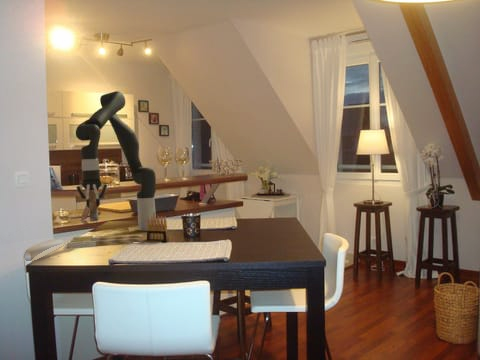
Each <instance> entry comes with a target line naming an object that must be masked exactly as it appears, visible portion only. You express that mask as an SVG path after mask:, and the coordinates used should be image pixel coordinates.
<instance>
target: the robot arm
mask: <svg viewBox="0 0 480 360" xmlns="http://www.w3.org/2000/svg"><path fill="white" fill-rule="evenodd" d="M99 101H100V106H101V108H99V109H97V110H96V111H95V112H94V113H93V114H91V116H90V117H89V118H88V119H86V120H84V121H83V122H82V123H79V125H77V127H76V130H75V136H76V138H77V139H78V140H80V141H89V143H88V144H87V145H85V146H82V147H81V151H80V153H81V174H82V182H81V184H80V185H77V186H76V190H77V192H78V193H79V195H80V197H81V199H85V200H86V207H87V208H89V209H90V207H89V190H94V192H95V194H96V205H97V208H99V207H100V206H101V202H100V201H101V198H103V197H104V195H105V193H106V190H107V188H108V184H105V183H102V180H101V173H100V162H99V151H98V150H99V145H100V139H101V130H102V129H103V128H104V127H105V125H106V124H107V123H108V121H109V123H110V125H111V127H112V129H113V132H114V134H115V136H116V138H117V141H118V143H119V146H120V148H121V150H122V152H123V154H124V157H125V159H126V162H127V164H128V167H129V170H130V174H131V177H132V180H133V181H134V183H136V184H137V185H140V186H141V188H140V190H139V191H138V192H137V193H136V203H137V220H138V221H137V223H138V231H140V232H141V231H142V232H144V231H145V232H147V218H148V216H149V218H150V224H151V216H152V217H153V224H154V216H155V217H156V216H157V215H156V203H155V200H156V198H155V193H156V190H157V184H156V183H157V182H156V181H157V180H156V173H155V171H154V169H153V168H151V167H143V165H142V162H141V160H140V156H139V155H140V154H139V151H140V143H139V140H138V138H137V136H136V133H135V131H134V129H132V128H131V127H130V126H129V125H127V124H126V123H125V122H124V121H122V119H121V118H120V117H119V116H118V112H120V111H121V110H122V109H123V108H124V107H125V106H126V97H125V95H124V94H123V92H121V91H118V90H117V91H112V92H109V93H105V94H103V95H101V96H100V98H99ZM100 188H101V189H102V190H101V192H99V189H100ZM83 189H84V190H85V191H86V194H85V193H84V192H83ZM156 218H157V217H156Z"/></svg>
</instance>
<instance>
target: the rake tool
mask: <svg viewBox="0 0 480 360" xmlns="http://www.w3.org/2000/svg"><path fill="white" fill-rule="evenodd" d="M89 207H90V208H89V222H98V221H99V220H100V219H99V210H98V208H99V207H97V205H96V194H95V192H94V190H89Z"/></svg>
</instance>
